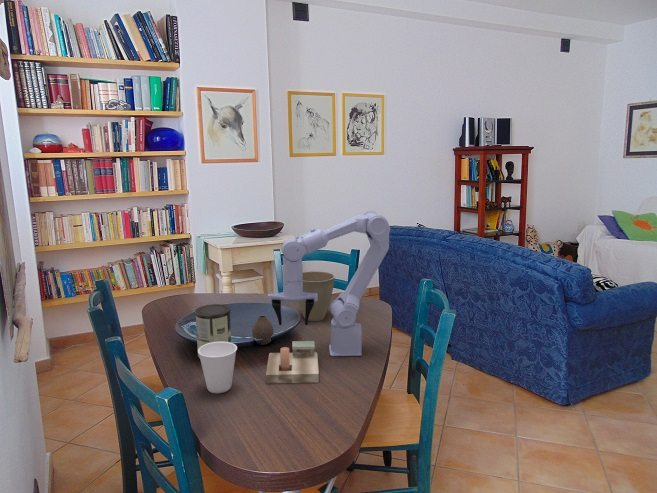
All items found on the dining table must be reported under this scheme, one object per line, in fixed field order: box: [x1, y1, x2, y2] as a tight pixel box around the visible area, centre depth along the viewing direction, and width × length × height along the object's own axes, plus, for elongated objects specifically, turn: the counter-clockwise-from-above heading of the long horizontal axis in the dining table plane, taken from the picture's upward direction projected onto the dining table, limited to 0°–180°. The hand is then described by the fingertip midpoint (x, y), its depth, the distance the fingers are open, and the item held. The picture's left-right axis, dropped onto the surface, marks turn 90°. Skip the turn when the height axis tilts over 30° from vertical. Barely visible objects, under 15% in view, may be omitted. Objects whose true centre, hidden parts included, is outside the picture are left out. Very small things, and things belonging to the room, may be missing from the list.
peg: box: [279, 346, 290, 371], centre depth 134 cm, size 2×2×8 cm
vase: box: [251, 314, 275, 346], centre depth 157 cm, size 7×7×9 cm
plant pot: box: [297, 270, 336, 322], centre depth 179 cm, size 15×15×16 cm
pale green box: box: [291, 340, 316, 356], centre depth 142 cm, size 6×4×6 cm, turn 93°
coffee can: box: [194, 303, 232, 359], centre depth 148 cm, size 10×10×14 cm
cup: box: [197, 341, 238, 394], centre depth 127 cm, size 10×10×11 cm
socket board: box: [265, 351, 320, 385], centre depth 138 cm, size 14×14×2 cm
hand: (293, 323), depth 147 cm, fingers open, 7 cm apart
